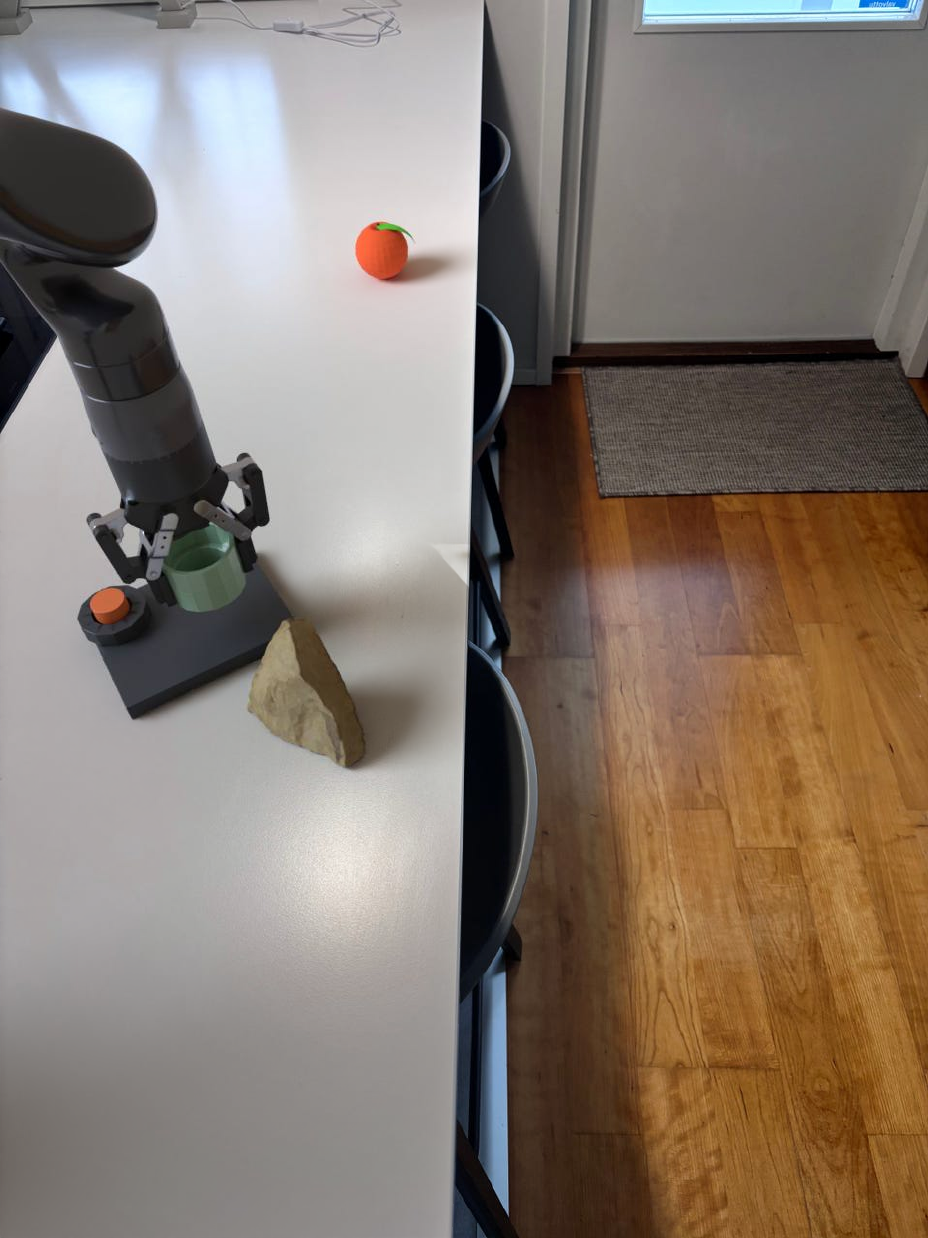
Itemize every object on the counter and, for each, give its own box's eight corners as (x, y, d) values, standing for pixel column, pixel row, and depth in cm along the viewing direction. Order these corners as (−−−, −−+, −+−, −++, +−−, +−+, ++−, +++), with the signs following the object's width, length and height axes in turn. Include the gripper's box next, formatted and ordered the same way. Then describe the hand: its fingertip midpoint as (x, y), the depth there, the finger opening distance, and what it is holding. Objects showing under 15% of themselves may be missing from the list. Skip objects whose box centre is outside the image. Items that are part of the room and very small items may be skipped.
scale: (127, 722, 80) (114, 699, 77) (82, 626, 87) (69, 602, 85) (303, 637, 85) (296, 613, 83) (246, 553, 93) (239, 529, 90)
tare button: (101, 629, 83) (95, 618, 82) (91, 608, 85) (85, 596, 84) (134, 615, 84) (129, 603, 83) (123, 594, 86) (118, 582, 85)
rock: (402, 736, 74) (363, 637, 80) (328, 716, 68) (291, 609, 73) (308, 807, 78) (276, 708, 83) (228, 795, 71) (200, 687, 77)
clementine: (421, 261, 128) (416, 210, 123) (415, 288, 124) (409, 236, 119) (363, 262, 129) (356, 210, 124) (354, 288, 125) (346, 236, 120)
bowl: (188, 627, 79) (171, 586, 75) (162, 581, 83) (145, 540, 79) (259, 595, 81) (245, 553, 77) (230, 552, 85) (216, 510, 81)
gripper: (66, 490, 65) (143, 647, 77) (260, 414, 69) (302, 574, 82) (37, 435, 69) (114, 591, 81) (221, 366, 73) (267, 525, 86)
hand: (208, 582), depth 81 cm, fingers closed on bowl, 6 cm apart
